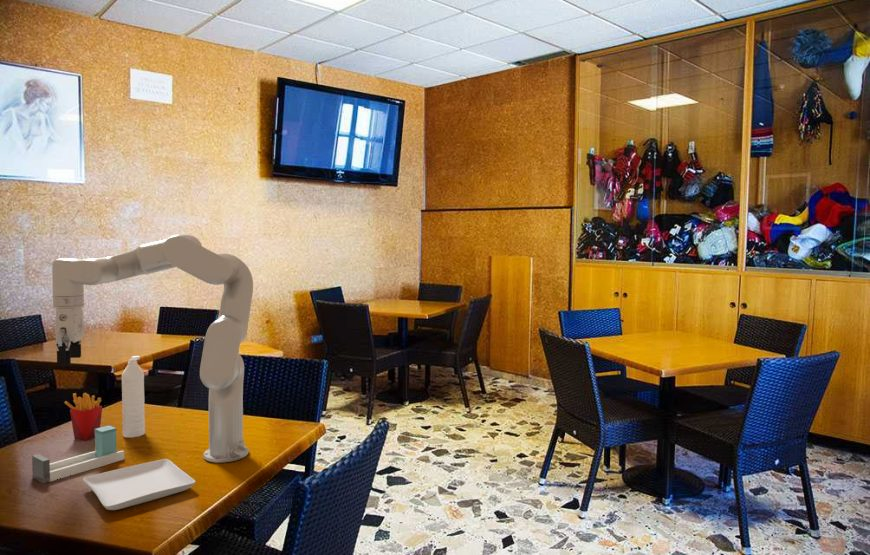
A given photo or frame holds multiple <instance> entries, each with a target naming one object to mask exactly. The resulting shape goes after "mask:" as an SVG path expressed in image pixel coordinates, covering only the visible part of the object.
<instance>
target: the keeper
mask: <svg viewBox="0 0 870 555" xmlns="http://www.w3.org/2000/svg"><path fill="white" fill-rule="evenodd" d="M117 446H118V445H117V427H114V426H112V425H106V426H100V428H97V429H95V438H94V451H95V457H101V456H105V455H108V454H112V453H115V452H118V451H117Z"/></svg>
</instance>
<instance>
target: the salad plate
mask: <svg viewBox="0 0 870 555" xmlns="http://www.w3.org/2000/svg"><path fill="white" fill-rule="evenodd" d="M82 481H83V482H84V483H85V485H86V486H88V488H89V489H91V490H92V492H93V493H94V494H95V495H96V497H97V499H98V500H99V502H100V504H101V505H102V506H103V508H105V510H109V511H117V510H122V509H126V508H130V507H133V506H137V505H140V504H141V505H142V504H143V503H147V502H151V501H155V500H157V499H161V498H164V497H168V496H171V495H174V494H178V493H181V492H184V491H186V490H189V489H190V488H191V487H193V486H194V485H195V484H196V480H195V479H194V478H193V477H191V476H190V475H189V474H187V472H185V471H183V470H182V469H181V468H179V467H178V466H177V465H176V464H175V463H174V462H173V461H171V460H170V459H167V458H163V459H158V460H154V461H153V460H152V461H149V462H143V463H139V464H135V465H129V466H125V467H122V468H121V467H120V468H117V469H113V470H108V471H105V472H102V473H97V474H93V475H89V476H85V477H82Z"/></svg>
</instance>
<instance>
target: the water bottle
mask: <svg viewBox="0 0 870 555" xmlns="http://www.w3.org/2000/svg"><path fill="white" fill-rule="evenodd" d="M140 357H141V356H140V355H134V356H133V355H132V356H131V358H130V359H128V361H127V365H126V366H125V369H124V370H123V371H122V373H121V392H122V393H121V397H122V398H121V402H122V403H121V404H122V405H121V406H122V407H121V408H122V409H121V410H122V412H121V413H122V436H123V438H127V439H128V438H130V439H132V438H139V437H141V436H144V435H145V434H146V426H145V425H146V421H145V418H146V417H145V416H146V414H145V374H144V370H143V368H141V366H140V365H139V364H138V360H141V358H140Z"/></svg>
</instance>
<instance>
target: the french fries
mask: <svg viewBox="0 0 870 555" xmlns="http://www.w3.org/2000/svg"><path fill="white" fill-rule="evenodd" d="M72 398H73V400H72V402H73V403H74V405H75V406H73V405H72V404H71V403H70V402H69V401H67V400H65V401H64V402H63V403H64V404H65V405H66V406H67V407H68V408H70V409H69V413H70V418H71V419H70V421H71V425H72V426H71V427H72V431H73V432H72V433H73V438H74V440H77V441H82V442H88V441H90V440H93V439H94V440H95V429H97V428H101V421H102V413H103V406H102V405H100V403H101V402H102V397H97V400H95V398H96V396H95V394H94V395H91V396H90V394H89V393H87V392H84V393H82V397H81V396H78V397H77V393H76V392H75V393H72Z"/></svg>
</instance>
